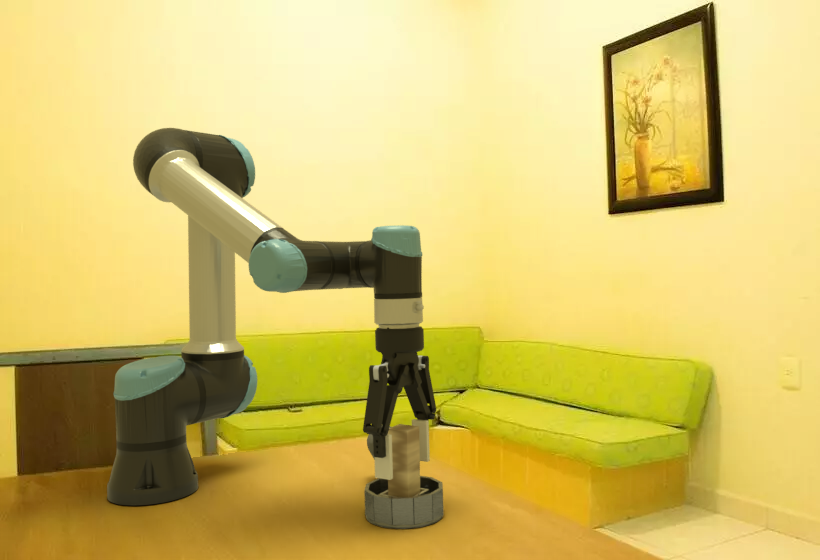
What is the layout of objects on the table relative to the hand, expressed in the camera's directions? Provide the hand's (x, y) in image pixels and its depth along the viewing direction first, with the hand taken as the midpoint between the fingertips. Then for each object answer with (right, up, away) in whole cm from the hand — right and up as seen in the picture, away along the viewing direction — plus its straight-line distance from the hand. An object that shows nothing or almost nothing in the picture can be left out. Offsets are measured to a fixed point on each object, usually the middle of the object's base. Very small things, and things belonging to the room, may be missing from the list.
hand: (403, 468), depth 111 cm
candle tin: (0, -7, 0) cm, 7 cm away
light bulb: (-4, -7, +19) cm, 20 cm away
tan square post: (0, -7, 0) cm, 7 cm away
